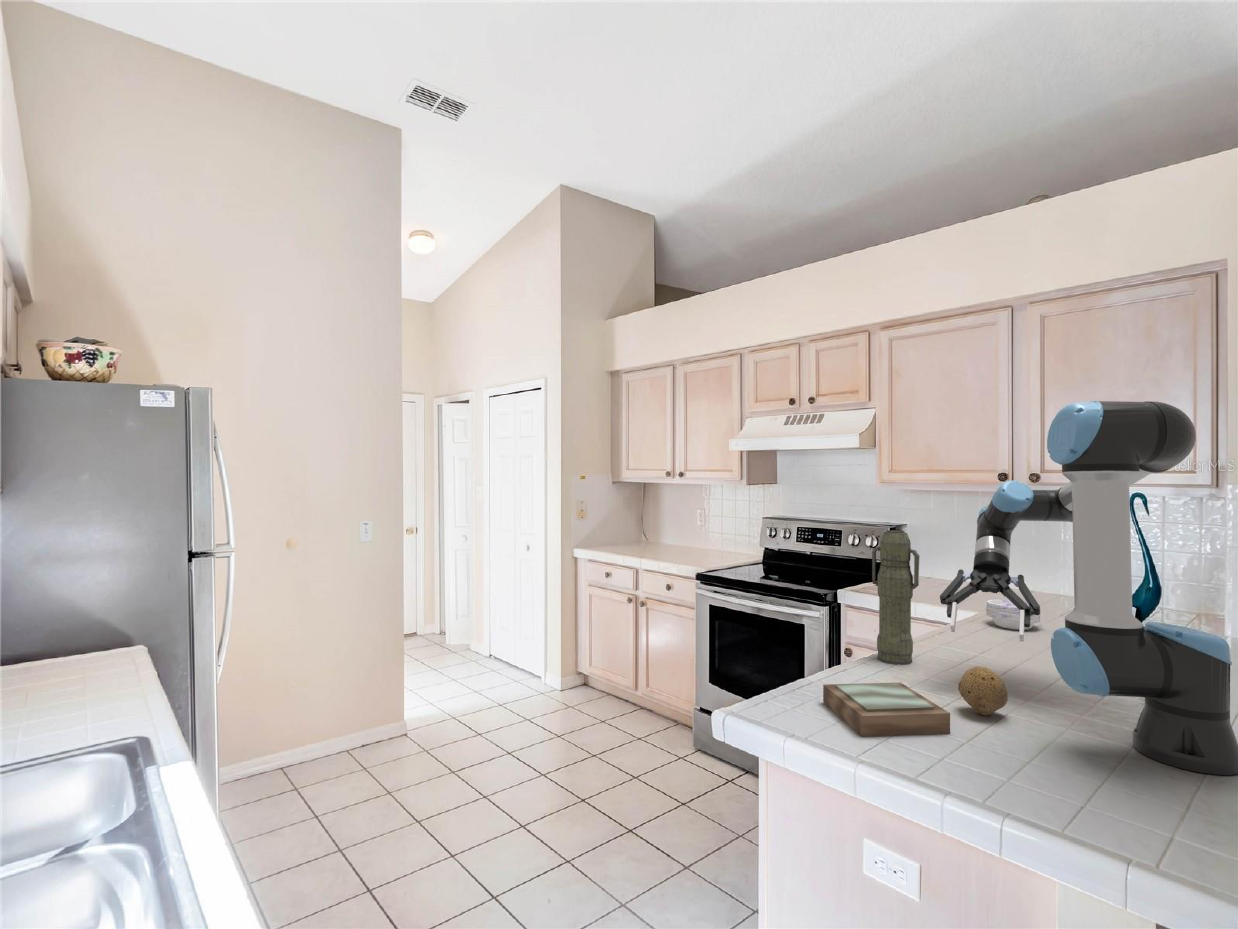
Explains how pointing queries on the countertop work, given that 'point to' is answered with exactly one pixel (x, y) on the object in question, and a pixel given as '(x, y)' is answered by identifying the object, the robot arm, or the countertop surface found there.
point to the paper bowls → (1007, 614)
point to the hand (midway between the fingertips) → (986, 633)
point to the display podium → (885, 709)
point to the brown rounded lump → (983, 690)
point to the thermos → (895, 596)
